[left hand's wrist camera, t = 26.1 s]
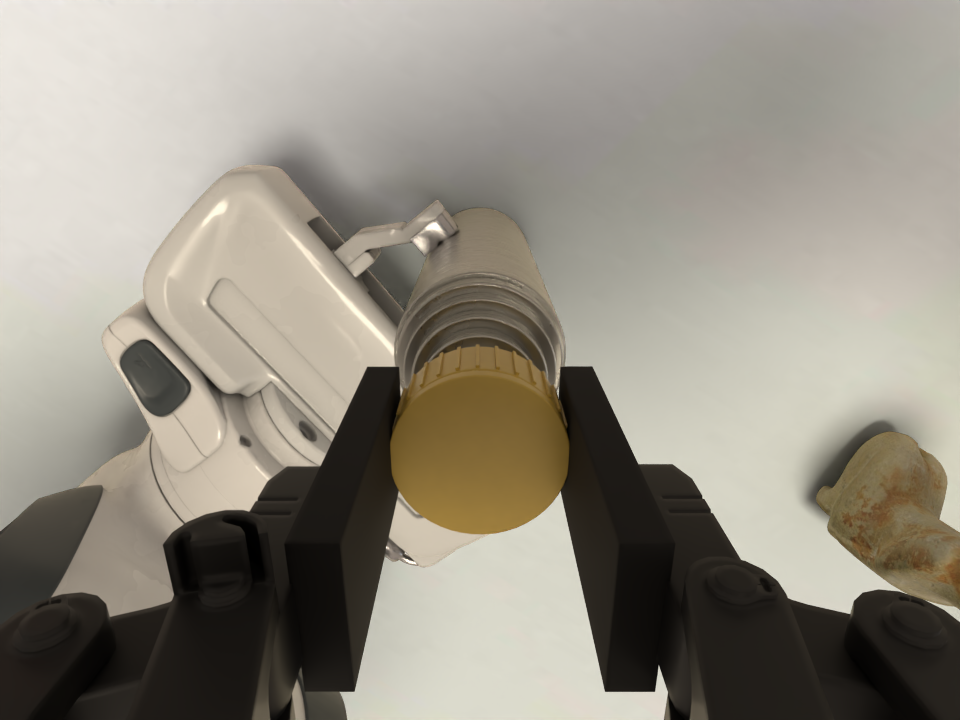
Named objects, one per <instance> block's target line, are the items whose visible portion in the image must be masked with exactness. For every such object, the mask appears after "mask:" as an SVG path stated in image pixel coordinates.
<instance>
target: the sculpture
mask: <svg viewBox="0 0 960 720" xmlns="http://www.w3.org/2000/svg"><path fill="white" fill-rule="evenodd" d="M946 489H947V476H946V473H945V471H944V469H943V467H942V465H941V464H940V463H939V461H938V460H937V459H936V458H935V457H934V456H933V455H932V454H929V453H927V452H926V451H924V450H922V449H921V448H919V447H918V444H917V442H916V441H915V440H913V439H912V438H911V437H909V436H907V435H904V434H901V433H897V432H884V433H881V434H878V435H876V436H874V437H872V438H871V439H869V440H868V441H867V442H865V443H864V444H863V445H862V446H861V447H860V448H859V449H858V450H857V452H856V453H855V454H854V455H853V457H852V458H851V460H850V461H849V462H848V464H847V466H846V468H845V469H844V471H843V473H842V475H841V477H840V478H839V480H838V481H837V483H836V485H835V486H834V487H833V488H832V487H829V486H823V487H822V488H821V489H820V490H819V491H818V493H817V496H816V501H817V503H818V504H819V506H820V507H821V508H822V510H823V511H825V512H826V513H827V514H828V515H829V516H830V519H829V522H828V526H827V528H828V532H829V533H830V534H831V535H832V536H833V537H834V538H835V539H837V540H838V542H839V543H840V544H841V545H842V546H843V547H845V548H846V549H847V550H848V551H849V552H850V553H851V554H853V555H854V556H855V557H856V558H857V559H858V560H860V561H861V562H862V563H863V564H865V565H866V566H867V567H868V568H870V569H871V570H872V571H874V572H875V573H876V574H878V575H879V576H880V577H882V578H883V579H884V580H886V581H887V582H888V583H890V584H891V585H893V586H895V587H896V588H898V589H900V590H902V591H903V592H905V593H907V594H909V595H912V596H915V597H918V598H921V599H924V600H927V601H930V602H934V603H937V604H942V605H946V606H955V607H957V608H958V609H960V532H958V531H956V530H955V529H953V528H952V527H950V526H948V525H947V524H945V523H944V522H942V521H941V520H939V518H940V514H941V510H942V507H943V503H944V499H945V494H946Z"/></svg>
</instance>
